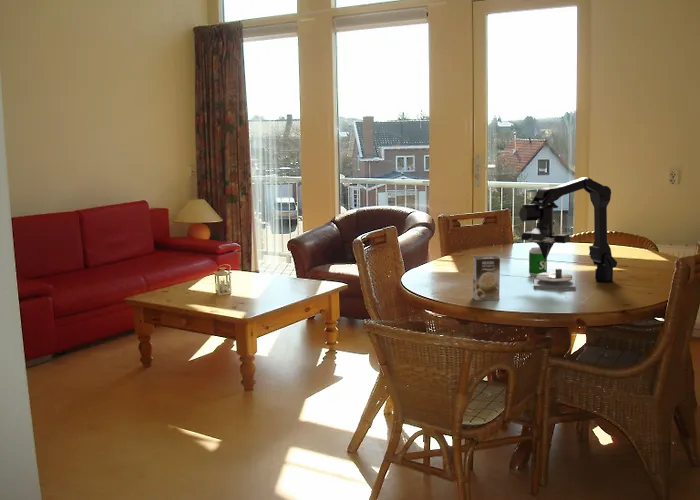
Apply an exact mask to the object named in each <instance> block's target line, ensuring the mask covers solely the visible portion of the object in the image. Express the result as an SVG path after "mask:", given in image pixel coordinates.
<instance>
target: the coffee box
mask: <svg viewBox="0 0 700 500" xmlns="http://www.w3.org/2000/svg"><path fill="white" fill-rule="evenodd" d="M472 258H473V259H472V260H473V261H472V262H473V263H472V265H473V267H472V269H473V270H472V271H473V272H472V273H473V274H472V277H473V278H472V298H473V299H474V300H475V301H499V300H500V290H501V289H500V285H501V284H500V281H501V280H500V279H501V278H500V276H501V275H500V274H501V269H500V268H501V258H500V257H499V256H496V255H489V256H488V255H484V256H483V255H482V256H479V255H478V256H475V255H473V257H472Z"/></svg>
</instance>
